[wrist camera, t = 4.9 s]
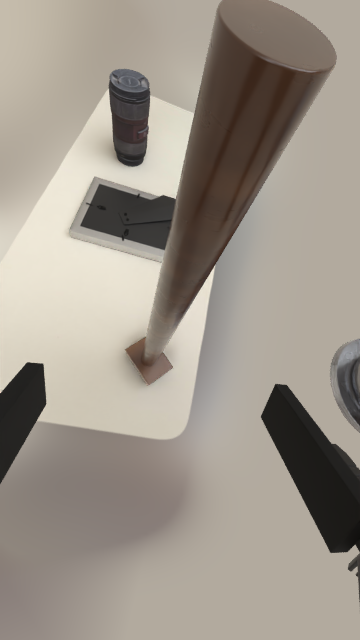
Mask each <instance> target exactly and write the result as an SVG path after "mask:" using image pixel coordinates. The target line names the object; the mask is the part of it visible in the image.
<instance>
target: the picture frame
mask: <svg viewBox="0 0 360 640" xmlns="http://www.w3.org/2000/svg"><path fill="white" fill-rule="evenodd" d="M175 201H176V199H174V198H171V197H167V196H164V195H163V196H160V197H158V196H155V195H152V194H149V193H146V192H142V191H139V190H136V189H133V188H130V187H127V186H123V185H120V184H117V183H114V182H111V181H107V180H104V179H101V178H98V177H94V179H93V181H92V183H91V185H90V187H89V189H88V191H87V194H86V196H85V198H84V200H83V202H82V204H81V206H80V208H79V210H78V212H77V214H76V217H75V219H74V221H73V223H72V225H71V227H70V229H69V232H70V235H71V237H73V238H76V239H80V240H83V241H87V242H91V243H94V244H98V245H101V246H105V247H108V248H112V249H116V250H119V251H123V252H126V253H130V254H133V255H137V256H141V257H144V258H148V259H151V260H155V261H158V262H162V261H163V256H164V252H165V247H166V242H167V238H168V233H169V229H170V224H171V219H172V215H173V210H174V205H175Z"/></svg>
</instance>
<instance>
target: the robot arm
mask: <svg viewBox="0 0 360 640" xmlns="http://www.w3.org/2000/svg"><path fill="white" fill-rule="evenodd" d="M352 380H353V386H354V390H355V393H356V395H357V398H358V400H359V401H360V358H359V359H358V360H357V362H356V363H355V365H354V368H353V374H352ZM45 405H46V392H45V379H44V365H43V364H40V363H29V362H27V363H26V364H25V366H24V367H23V368H22V369H21V370H20V371H19V372H18V374H17V375H16V376H15V377H14V378H13V379H12V381H11V382H10V383H9V384H8V385H7V386H6V388H5V389H4V390H3V391H2V392H1V393H0V483H1V482H2V480H3V478H4V476H5V475H6V473H7V471H8V470H9V468H10V466H11V464H12V463H13V461H14V459H15V457H16V456H17V454H18V452H19V450H20V449H21V447H22V445H23V444H24V442H25V440H26V438H27V437H28V435H29V433H30V431H31V429H32V428H33V426H34V424H35V423H36V421H37V419H38V418H39V416H40V414H41V412H42V411H43V409H44V407H45ZM261 418H262V420H263V422H264V424H265V426H266V428H267V430H268V432H269V434H270V436H271V438H272V440H273V442H274V444H275V446H276V448H277V450H278V451H279V453H280V455H281V457H282V459H283V461H284V463H285V465H286V467H287V469H288V471H289V473H290V475H291V477H292V478H293V480H294V483H295V484H296V486H297V488H298V490H299V492H300V494H301V496H302V498H303V500H304V502H305V504H306V506H307V508H308V510H309V512H310V514H311V516H312V517H313V519H314V521H315V523H316V525H317V527H318V529H319V531H320V533H321V535H322V537H323V539H324V541H325V543H326V545H327V547H328V549H329V551H330V552H331V553H339V552H348V551H349V550H350V549H351V548H352V547H353V546H354V545H356V546H357V548H358V550H359V551H360V470H359V468H357V467H356V465H355V463H354V462H353V461H352V460H351V458H350V457H349V456H348V455H347V454H346V453H345V452H344V451H343V450H342V449H341V448H340V447H339V446H337V445H336V444H331V442H330V441H329V440H328V439H327V437H326V436H325V435H324V433H323V432H322V431H321V429H320V428H319V427H318V425H317V424H316V423H315V422H314V420H313V419H312V418H311V417H310V415H309V414H308V412H307V411H306V410H305V408H304V407H303V406H302V404H301V403H300V402H299V400H298V399H297V398H296V397H295V395H294V394H293V393H292V391H291V390H290V389H289V387H288V386H287V385H280V384H275V386H274V388H273V391H272V393H271V395H270V397H269V400H268V402H267V404H266V406H265V409H264V411H263V413H262V415H261ZM357 566H358V572H357V573H356V576H358V581H359V599H360V554H359V555H358V556H357V557H356V558H354V559H353V560H352V561H351V562H350V563H349V566H348V570H349V571H352V570H353V569H354V568H355V567H357Z"/></svg>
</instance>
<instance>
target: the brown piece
mask: <svg viewBox="0 0 360 640" xmlns="http://www.w3.org/2000/svg"><path fill="white" fill-rule="evenodd" d="M336 59H337V56H336V52H335V49H334V48H333V46H332V44H331V42H330V41H329V40H328V38H327V37H326V36H325V35H324V34H323V33H322V32H321V31H320V30H319V29H318V28H317V27H316V26H314V25H313V24H312V23H311V22H309V21H307V20H306V19H305V18H304V17H302V16H300V15H299V14H297V13H295V12H294V11H292V10H290V9H288V8H286V7H284V6H281V5H279V4H277V3H274V2H272V1H268V0H222V1H221V2H220V3H219V5H218V8H217V11H216V16H215V21H214V25H213V30H212V34H211V39H210V44H209V48H208V53H207V58H206V62H205V67H204V72H203V76H202V81H201V86H200V90H199V95H198V99H197V104H196V108H195V113H194V118H193V122H192V127H191V131H190V136H189V141H188V145H187V150H186V155H185V159H184V164H183V168H182V173H181V178H180V182H179V187H178V192H177V196H176V201H175V205H174V210H173V215H172V219H171V224H170V229H169V233H168V238H167V242H166V247H165V252H164V256H163V261H162V266H161V270H160V275H159V279H158V284H157V289H156V293H155V298H154V303H153V307H152V312H151V316H150V321H149V326H148V330H147V335H146V337H145V338H143V339H141V340H140V341H138V342H137V343H135V344H133V345H132V346H130V347H129V348H127V349H125V351H126V354H127V355H128V357H129V359H130V360H131V362H132V363H133V365H134V366H135V368H136V369H137V371H138V372H139V374H140V375H141V377H142V378H143V380H144V381H145V383H146V384H147V386H148V385H150V384H151V383H153V382H154V381H155V380H157V379H158V378H160V377H161V376H162V375H164V374H165V373H167V372H168V371H169V370H171V369H172V368H173V366H172V365H171V363H170V362H169V360H168V359H167V358H166V356H165V355H164V353H163V350H164V348H165V347H166V345H167V344H168V342H169V340H170V339H171V337H172V335H173V334H174V332H175V330H176V329H177V327H178V325H179V324H180V322H181V320H182V319H183V317H184V315H185V314H186V312H187V310H188V309H189V307H190V305H191V304H192V302H193V300H194V299H195V297H196V295H197V294H198V292H199V290H200V289H201V287H202V286H203V284H204V282H205V281H206V279H207V277H208V276H209V274H210V272H211V271H212V269H213V267H214V266H215V264H216V262H217V261H218V259H219V257H220V256H221V254H222V252H223V251H224V249H225V247H226V246H227V244H228V242H229V241H230V239H231V237H232V236H233V234H234V233H235V231H236V229H237V228H238V226H239V224H240V222H241V221H242V219H243V218H244V216H245V214H246V213H247V211H248V209H249V208H250V206H251V204H252V203H253V201H254V199H255V198H256V196H257V194H258V193H259V191H260V189H261V188H262V186H263V184H264V183H265V181H266V179H267V178H268V176H269V174H270V173H271V171H272V170H273V168H274V166H275V164H276V163H277V161H278V160H279V158H280V156H281V154H282V153H283V151H284V149H285V148H286V146H287V145H288V143H289V141H290V140H291V138H292V136H293V135H294V133H295V131H296V130H297V128H298V126H299V125H300V123H301V122H302V120H303V118H304V116H305V115H306V113H307V112H308V110H309V108H310V106H311V105H312V103H313V101H314V100H315V98H316V96H317V95H318V93H319V92H320V90H321V88H322V87H323V85H324V83H325V82H326V80H327V78H328V77H329V75H330V73H331V72H332V70H333V68H334V67H335V64H336Z"/></svg>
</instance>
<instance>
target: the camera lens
mask: <svg viewBox="0 0 360 640" xmlns="http://www.w3.org/2000/svg"><path fill="white" fill-rule="evenodd" d="M109 95H110V107H111V112H112V124H113V142H114V147H115V151H116V154H117V158H118V160H119V161H120V162H122V163H123V164H125V165H128V166H138V165H140V164H141V163H142V162H143V159H144V156H145V154H146V148H147V134H148V129H149V127H148V116H149V107H150V91H149V82H148V80H147V79H146V77H145V76H143V75H142V74H140V73H139V72H136V71H133V70H129V69H118V70H115V71H113V72H112V73H111V74H110V82H109Z"/></svg>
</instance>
